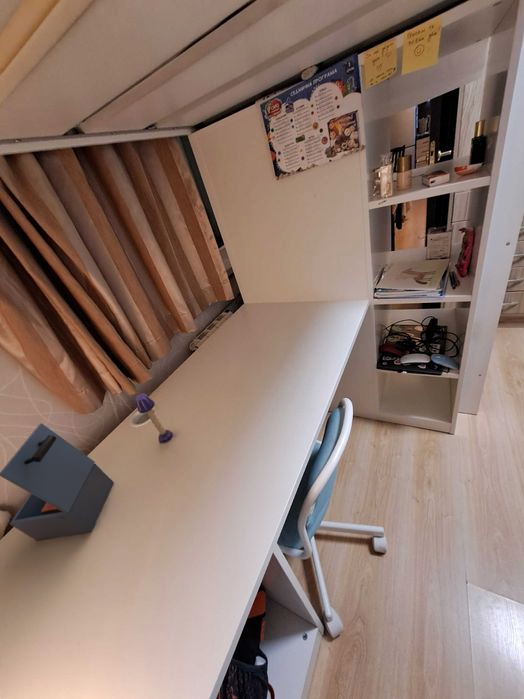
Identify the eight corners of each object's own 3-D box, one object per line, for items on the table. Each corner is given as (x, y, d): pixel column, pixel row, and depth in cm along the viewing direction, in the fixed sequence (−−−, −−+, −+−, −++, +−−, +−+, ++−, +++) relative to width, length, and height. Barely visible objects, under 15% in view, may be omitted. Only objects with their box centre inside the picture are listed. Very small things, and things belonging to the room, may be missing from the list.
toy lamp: (163, 430, 90) (136, 392, 81) (176, 429, 89) (150, 390, 80) (157, 443, 86) (128, 404, 77) (170, 442, 85) (142, 403, 76)
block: (52, 520, 73) (40, 511, 71) (62, 502, 77) (51, 494, 74) (68, 517, 73) (56, 508, 70) (77, 500, 76) (66, 491, 74)
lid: (-3, 475, 55) (16, 467, 54) (39, 424, 66) (55, 416, 64) (65, 513, 63) (82, 507, 62) (93, 462, 74) (108, 457, 73)
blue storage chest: (35, 540, 71) (9, 524, 66) (64, 491, 81) (43, 473, 76) (91, 532, 68) (68, 514, 64) (113, 482, 79) (95, 463, 74)
